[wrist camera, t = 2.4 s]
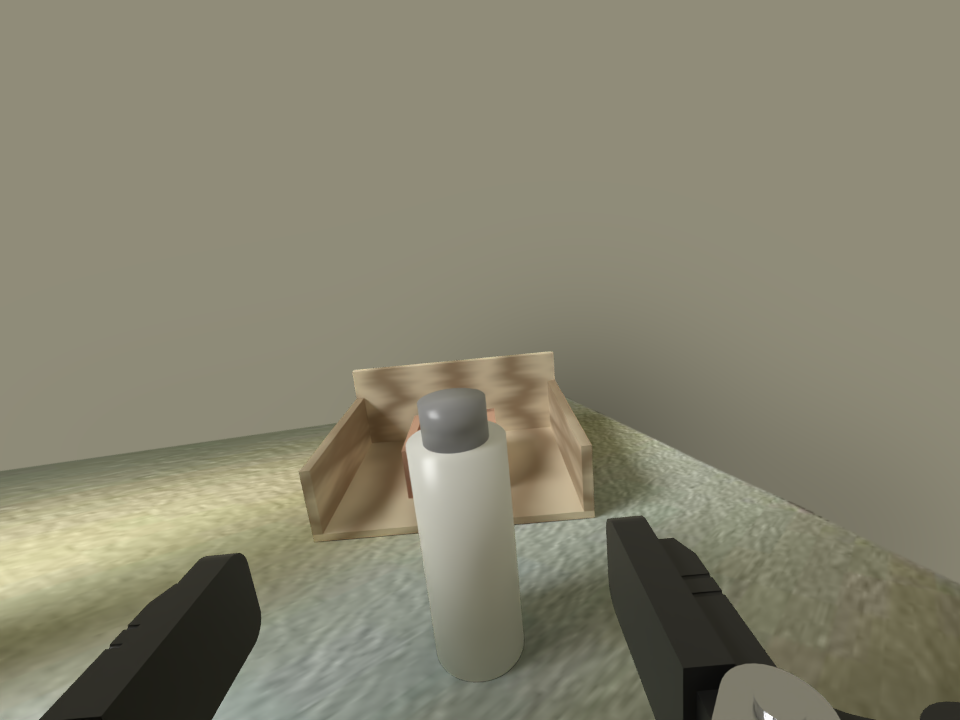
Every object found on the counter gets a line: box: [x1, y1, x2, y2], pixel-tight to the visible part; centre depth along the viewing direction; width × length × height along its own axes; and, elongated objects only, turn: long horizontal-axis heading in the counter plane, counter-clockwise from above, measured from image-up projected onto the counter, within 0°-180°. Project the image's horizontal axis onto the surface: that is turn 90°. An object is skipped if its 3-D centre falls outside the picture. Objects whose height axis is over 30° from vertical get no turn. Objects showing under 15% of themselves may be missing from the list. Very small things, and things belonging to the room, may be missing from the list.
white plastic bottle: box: [406, 388, 524, 682], centre depth 23 cm, size 5×5×14 cm
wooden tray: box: [299, 351, 595, 542], centre depth 41 cm, size 22×17×9 cm
